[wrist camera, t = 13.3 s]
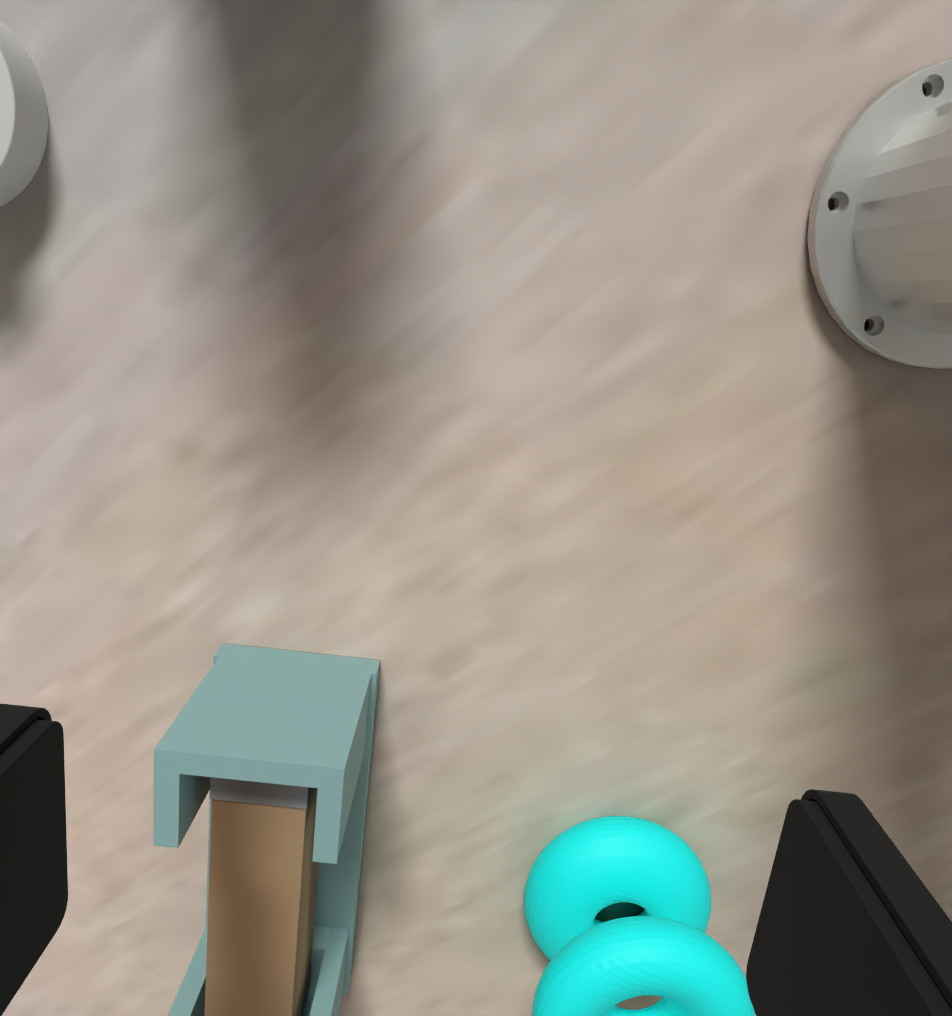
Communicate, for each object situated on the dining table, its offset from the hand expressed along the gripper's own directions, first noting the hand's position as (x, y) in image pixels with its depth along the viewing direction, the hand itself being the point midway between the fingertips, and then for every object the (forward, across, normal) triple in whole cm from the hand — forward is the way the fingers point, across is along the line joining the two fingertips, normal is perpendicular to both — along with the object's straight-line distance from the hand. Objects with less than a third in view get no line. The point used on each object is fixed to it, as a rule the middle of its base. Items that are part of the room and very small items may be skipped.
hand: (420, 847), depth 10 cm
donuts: (+29, -11, +24) cm, 39 cm away
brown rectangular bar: (+25, +7, +22) cm, 34 cm away
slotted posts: (+28, +7, +22) cm, 37 cm away
